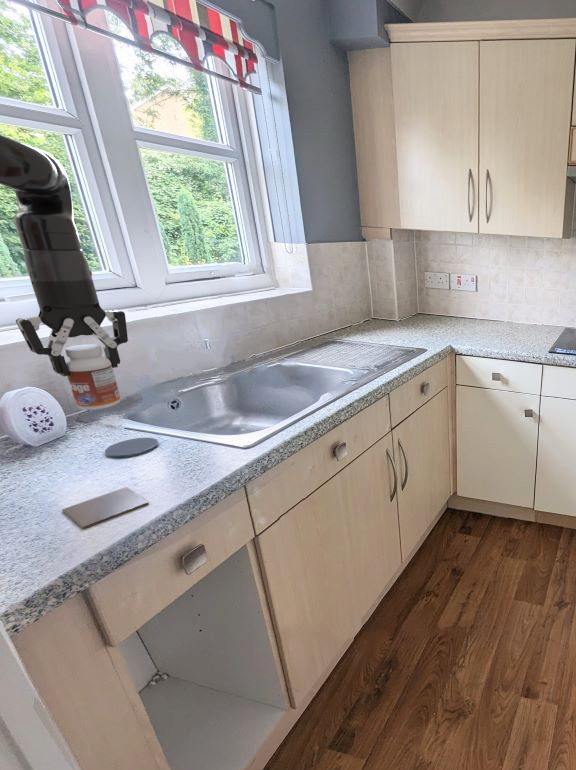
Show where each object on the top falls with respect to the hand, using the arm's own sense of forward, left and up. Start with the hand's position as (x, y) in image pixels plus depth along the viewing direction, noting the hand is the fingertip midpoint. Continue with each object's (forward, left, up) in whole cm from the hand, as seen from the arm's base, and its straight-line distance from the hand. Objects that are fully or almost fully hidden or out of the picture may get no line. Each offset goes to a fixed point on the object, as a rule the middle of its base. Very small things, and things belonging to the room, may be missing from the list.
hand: (89, 370), depth 83 cm
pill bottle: (0, 0, -7) cm, 7 cm away
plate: (+6, +11, -22) cm, 25 cm away
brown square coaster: (-6, -12, -22) cm, 25 cm away
